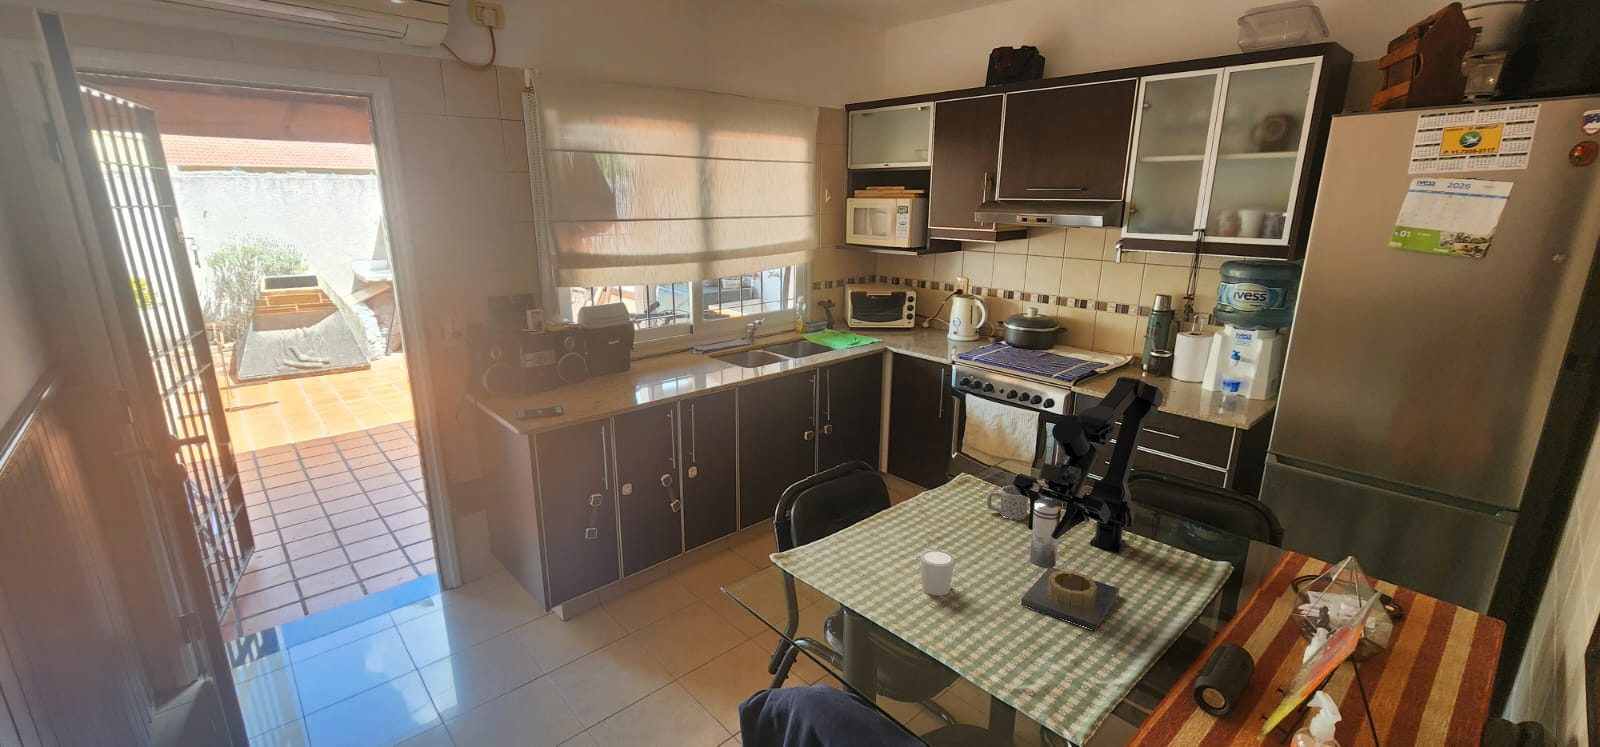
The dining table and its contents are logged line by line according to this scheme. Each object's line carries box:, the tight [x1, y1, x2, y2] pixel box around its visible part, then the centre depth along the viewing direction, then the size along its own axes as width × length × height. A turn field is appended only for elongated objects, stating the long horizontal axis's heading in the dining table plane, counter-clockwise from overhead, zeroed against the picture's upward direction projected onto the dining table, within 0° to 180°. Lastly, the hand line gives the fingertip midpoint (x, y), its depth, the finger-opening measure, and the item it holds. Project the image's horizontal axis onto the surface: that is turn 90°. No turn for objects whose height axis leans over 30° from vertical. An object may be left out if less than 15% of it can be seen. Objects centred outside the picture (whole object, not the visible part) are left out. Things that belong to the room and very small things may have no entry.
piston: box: [1029, 498, 1062, 569], centre depth 134 cm, size 5×5×12 cm
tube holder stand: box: [1020, 567, 1121, 632], centre depth 133 cm, size 16×14×4 cm
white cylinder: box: [919, 549, 956, 597], centre depth 137 cm, size 7×7×7 cm
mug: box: [986, 485, 1029, 520], centre depth 173 cm, size 10×7×7 cm, turn 77°
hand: (1042, 533), depth 133 cm, fingers closed on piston, 5 cm apart
